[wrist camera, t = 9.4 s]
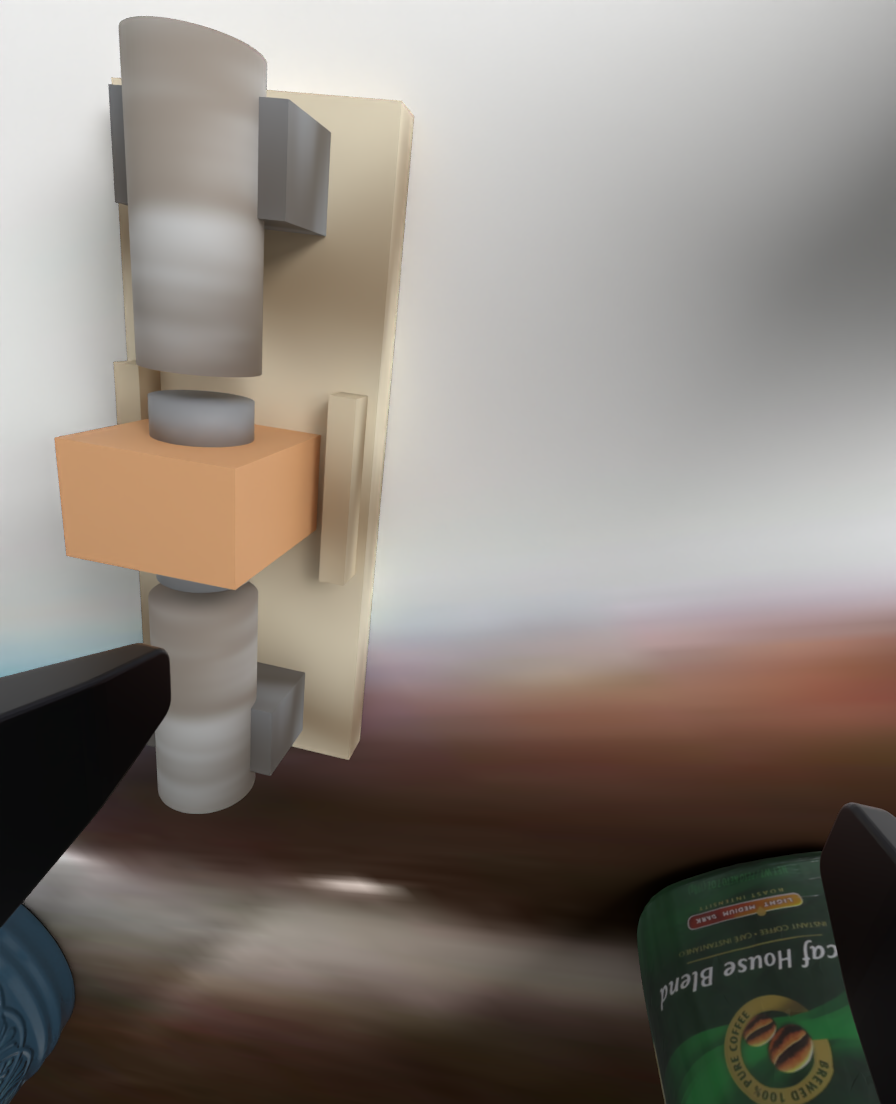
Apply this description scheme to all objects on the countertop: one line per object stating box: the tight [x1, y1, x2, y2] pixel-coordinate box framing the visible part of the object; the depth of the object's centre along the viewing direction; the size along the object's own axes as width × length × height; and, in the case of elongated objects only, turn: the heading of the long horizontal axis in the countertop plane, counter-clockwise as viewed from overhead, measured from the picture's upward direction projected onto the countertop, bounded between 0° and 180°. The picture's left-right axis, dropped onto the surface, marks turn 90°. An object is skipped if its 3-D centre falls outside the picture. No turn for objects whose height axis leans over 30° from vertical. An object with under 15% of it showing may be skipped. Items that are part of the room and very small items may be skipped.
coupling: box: [55, 390, 321, 593], centre depth 17 cm, size 5×5×5 cm
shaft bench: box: [108, 16, 414, 814], centre depth 18 cm, size 20×8×5 cm, turn 172°
